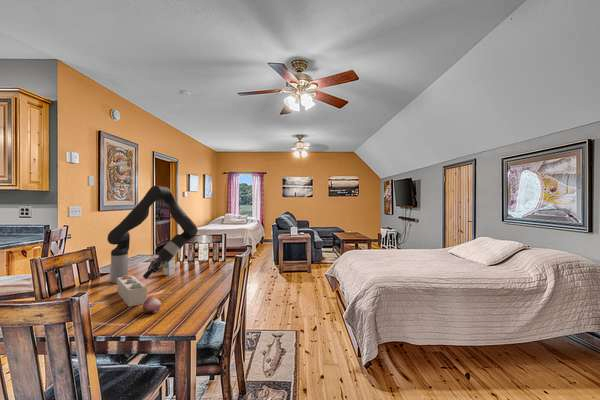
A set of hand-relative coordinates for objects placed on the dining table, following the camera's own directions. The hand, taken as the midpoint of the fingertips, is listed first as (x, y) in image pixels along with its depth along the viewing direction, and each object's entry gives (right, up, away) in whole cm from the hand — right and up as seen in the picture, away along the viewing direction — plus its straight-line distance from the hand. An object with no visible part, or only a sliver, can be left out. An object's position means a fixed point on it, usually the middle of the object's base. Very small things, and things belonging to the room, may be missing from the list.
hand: (144, 277), depth 156 cm
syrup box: (-11, -12, +53) cm, 56 cm away
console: (-10, -12, +6) cm, 17 cm away
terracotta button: (-17, -5, +14) cm, 23 cm away
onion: (+11, -13, -15) cm, 22 cm away
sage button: (-3, -5, -3) cm, 6 cm away
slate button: (-10, -5, +6) cm, 13 cm away
